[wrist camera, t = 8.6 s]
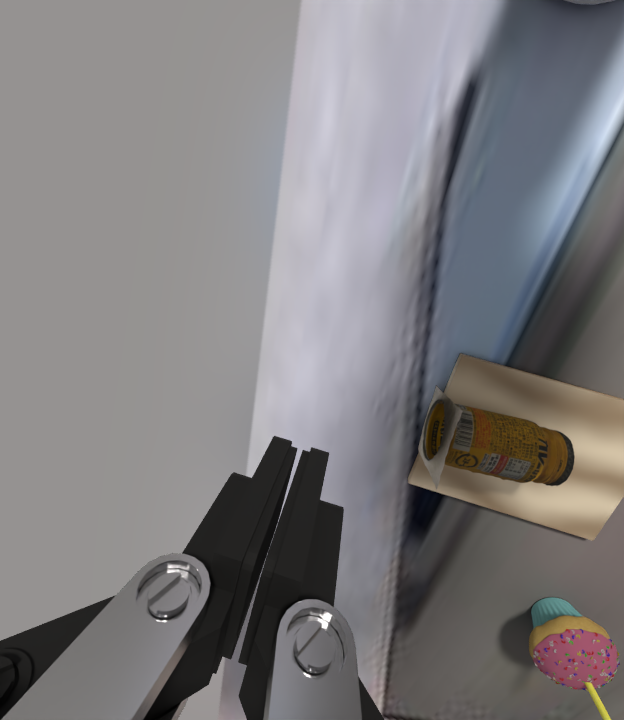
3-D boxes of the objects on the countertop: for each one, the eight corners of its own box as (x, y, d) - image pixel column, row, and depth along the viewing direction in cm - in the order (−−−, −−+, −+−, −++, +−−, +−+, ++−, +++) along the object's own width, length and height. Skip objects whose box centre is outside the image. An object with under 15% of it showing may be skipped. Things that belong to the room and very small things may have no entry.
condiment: (416, 447, 37) (527, 473, 36) (434, 489, 29) (580, 524, 28) (433, 384, 35) (550, 410, 34) (458, 410, 27) (612, 444, 26)
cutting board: (460, 353, 34) (462, 355, 33) (671, 412, 33) (678, 416, 32) (407, 478, 39) (408, 483, 38) (588, 535, 38) (593, 540, 37)
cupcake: (599, 628, 41) (688, 768, 30) (527, 642, 43) (586, 778, 32) (575, 576, 40) (660, 704, 28) (502, 594, 42) (554, 719, 30)
